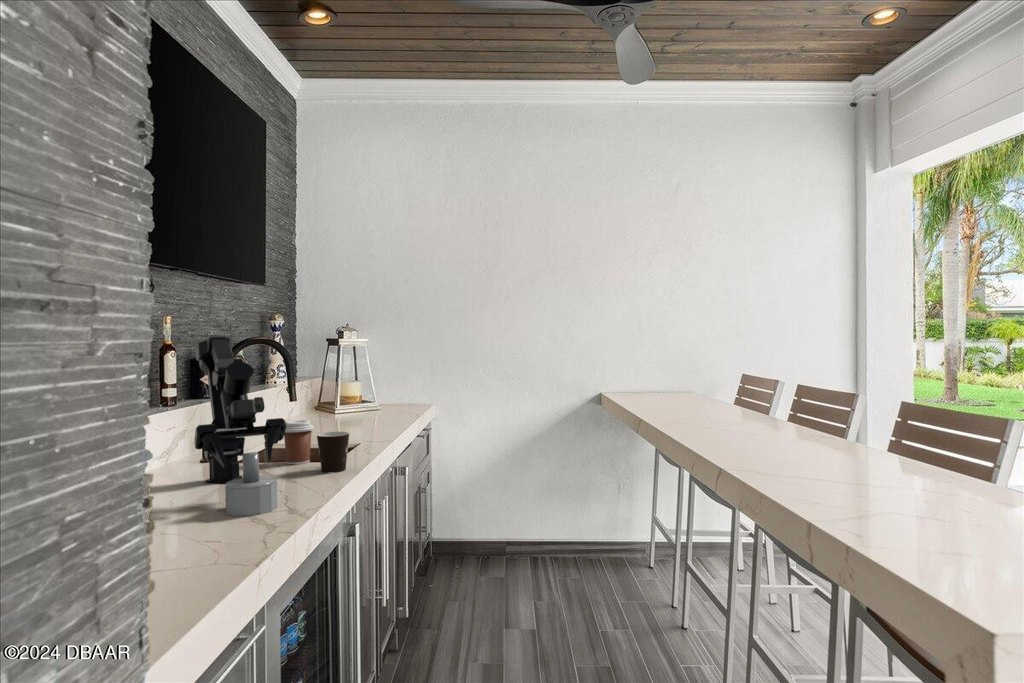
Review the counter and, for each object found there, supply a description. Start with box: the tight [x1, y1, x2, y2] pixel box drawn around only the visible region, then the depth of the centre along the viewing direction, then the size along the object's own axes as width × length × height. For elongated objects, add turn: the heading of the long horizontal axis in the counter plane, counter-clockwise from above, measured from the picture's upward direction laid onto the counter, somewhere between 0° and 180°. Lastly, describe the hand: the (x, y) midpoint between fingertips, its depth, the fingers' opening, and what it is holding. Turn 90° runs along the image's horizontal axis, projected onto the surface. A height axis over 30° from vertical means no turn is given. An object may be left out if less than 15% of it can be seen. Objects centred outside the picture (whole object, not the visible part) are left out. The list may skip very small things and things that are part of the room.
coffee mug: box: [316, 431, 350, 473], centre depth 173 cm, size 12×9×10 cm
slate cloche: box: [224, 451, 278, 517], centre depth 134 cm, size 10×10×12 cm
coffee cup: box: [283, 419, 315, 465], centre depth 183 cm, size 9×9×12 cm
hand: (247, 463), depth 137 cm, fingers open, 9 cm apart
